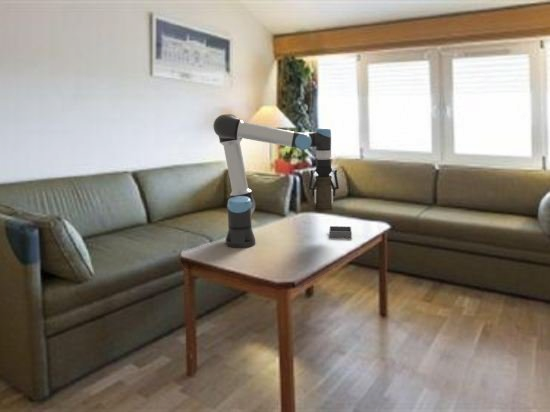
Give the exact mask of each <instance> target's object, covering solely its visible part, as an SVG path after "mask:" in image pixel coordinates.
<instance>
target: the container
mask: <svg viewBox="0 0 550 412" xmlns="http://www.w3.org/2000/svg"><path fill="white" fill-rule="evenodd" d="M316 179H317V180H316ZM330 179H331V180H332V176H331V175H330V177H318V175H316V176H315V181H316V182H317V184H316V187H315V190H316V203H315V209H314V210H315V212H319V213H330V212H331V213H332V212H333V205H332V193H331V191H332V186H331V184H330V181H331V180H330Z"/></svg>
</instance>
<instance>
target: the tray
mask: <svg viewBox="0 0 550 412" xmlns="http://www.w3.org/2000/svg"><path fill="white" fill-rule="evenodd" d="M328 232H329V234H328V237H329V239H352V235H353V234H352V232H353V231H352V226H338V225H337V226H335V225H334V226H333V225H332V226H329V231H328Z"/></svg>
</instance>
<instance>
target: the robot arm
mask: <svg viewBox="0 0 550 412" xmlns="http://www.w3.org/2000/svg"><path fill="white" fill-rule="evenodd" d="M212 127H213V131H214V133H215V135H216V136H218V139H219V140H218V141H219V144H221V145H222V146H223V150H224V155H225V161H226V166H227V171H228V176H229V177H228V178H229V181H230V186H231V193H230V194H229V197H230V198H229V199H228V200H227V204H226V205H227V207H226V208H227V223H228V224H227V225H228V226H227V227H228V229H227V234H226V236H225V240H224V241H225V246H226V245H227V247H229V248H237V249H238V248H240V249H241V248H249V247H253V246H254V245H256V237H255V235H254V231H253V228H252V226H253V225H252V215H253V214H254V212H255V210H256V200H255V198H254V197H253V191H252V189H250V188H249V186H248V180H247V174H246V169H245V164H244V158H243V154H242V153H243V152H242V147H241V142H242V140H243V139H246V140H251V141H257V142H262V143H268V144H273V145H278V146H283V147H289V148H293V149H299V150H303V151H307V149H309V148H315V154H316V155H315V156H316V157H315V158H316V160H315V161H316V162H315V163H316V164H315V165H316V167H315V168H314V169H311V170H310V171H309V172H310V177H309V186H308V189H309V190H311V192H312V194H311V195H312V197H314V204H316V184H317V182H316V180H317V179H316V178H315V182H314V184H313V181H314V174H317V176H318V177H330V176H331V175H330V174H331V173H332V174H333V175H334V182H335V183H334V182H333V180H332V178H331V179H330V180H331V181H330V184H331V200H332V201H331V204H334V197H335V196H336V191H337V190H339V189H340V187H339V181H338V175H337V173H338V170H337V169H332V159H331V158H332V131H331V129H330V128H329V127H320V128H319V127H317V128H316V129H315V131H314V132H313V131H312V132H307V131H306V132H303V131H302V132H297V131H293V130H286V129H281V128H277V127H272V126H266V125H259V124H254V123H250V122H244V121H243V120H242V119H240V118H238V117H237V116H236V115H233V114H230V113H228V114H226V113H225V114H221V115H219V116H217V117H216V118H215V119H214V121H213V126H212Z"/></svg>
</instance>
